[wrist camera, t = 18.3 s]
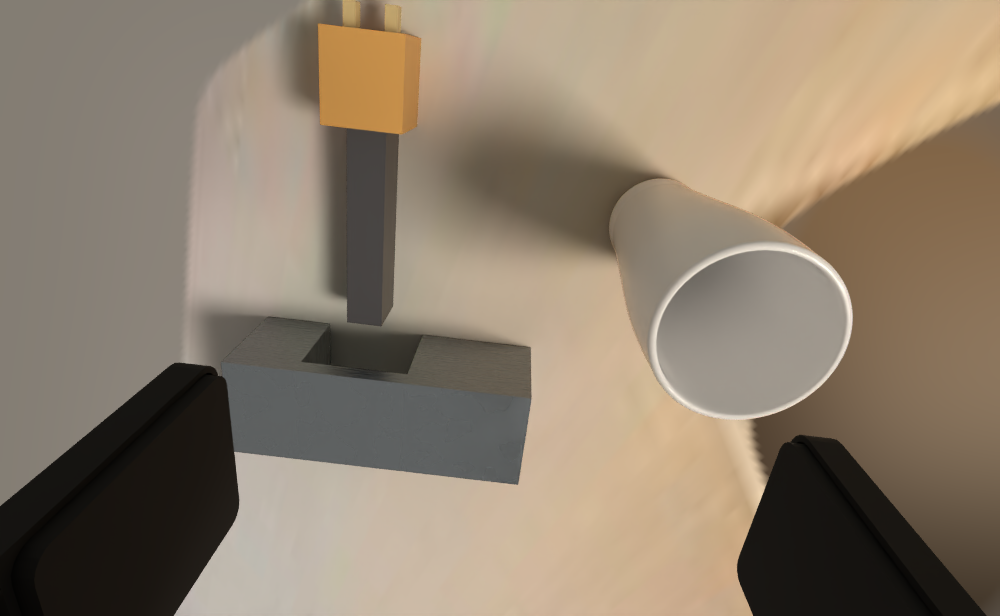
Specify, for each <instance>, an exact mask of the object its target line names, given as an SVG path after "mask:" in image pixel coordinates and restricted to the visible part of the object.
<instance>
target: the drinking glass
mask: <svg viewBox="0 0 1000 616" xmlns="http://www.w3.org/2000/svg"><path fill="white" fill-rule="evenodd" d="M609 235H610V240H611V243H612V246H613V248H614V250H615V254H616V258H617V263H618V268H619V273H620V278H621V283H622V288H623V294H624V299H625V303H626V308H627V312H628V315H629V319H630V322H631V325H632V328H633V331H634V333H635V336H636V338H637V341H638V343H639V345H640V348H641V350H642V352H643V354H644V356H645V358H646V360H647V362H648V363H649V365H650V367H651V369H652V371H653V373H654V375H655V377H656V379H657V381H658V382H659V384H660V385H661V386H662V388H663V389H664V390H665V391H666V392H667V393H668V394H669V395H670V396H671V397H672V398H673V399H674V400H675V401H677V402H678V403H680V404H681V405H682V406H684V407H686V408H688V409H689V410H692V411H694V412H696V413H699V414H702V415H705V416H708V417H712V418H718V419H727V420H744V419H753V418H758V417H763V416H767V415H771V414H773V413H777V412H779V411H782V410H784V409H786V408H789V407H790V406H793V405H795V404H796V403H798V402H800V401H801V400H803V399H805V398H806V397H807V396H809V395H810V394H811V393H813V392H814V391H815V390H816V389H817V388H819V387H820V386H821V385H822V384H823V383H824V382H825V381H826V380H827V379H828V377H829V376H830V375H831V374H832V373H833V371H834V370H835V368H836V367H837V365H838V364H839V362H840V361H841V359H842V357H843V355H844V353H845V350H846V348H847V346H848V342H849V340H850V335H851V331H852V323H853V321H852V320H853V312H852V304H851V301H850V296H849V293H848V291H847V288H846V286H845V284H844V282H843V280H842V279H841V277H840V276H839V274H838V273H837V272H836V270H835V269H834V268H833V267H832V266H831V265H830V264H829V263H828V262H826V261H825V260H824V259H823V258H821V257H820V256H819V255H817V254H816V253H815V252H814V251H812V250H811V249H810V248H809V247H807V246H806V245H805V244H803V243H802V242H801V241H799V240H798V239H796V238H795V237H793V236H792V235H790V234H789V233H787V232H786V231H784V230H783V229H781V228H780V227H778V226H776V225H775V224H773V223H771V222H769V221H767V220H765V219H763V218H761V217H759V216H757V215H755V214H753V213H750V212H748V211H746V210H743V209H740V208H738V207H735V206H733V205H730V204H727V203H725V202H722V201H719V200H717V199H714V198H712V197H709V196H707V195H704V194H702V193H699V192H697V191H694V190H692V189H691V188H689V187H688V186H686V185H685V184H683V183H681V182H678V181H675V180H672V179H664V178H657V179H650V180H646V181H643V182H641V183H639V184H637V185H635V186H633V187H632V188H630V189H629V190H628V191H626V192H625V193H624V194H623V195H622V196H621V198H620V199H619V200H618V202H617V203H616V205H615V207H614V209H613V211H612V214H611V217H610V222H609Z"/></svg>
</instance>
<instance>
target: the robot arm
mask: <svg viewBox="0 0 1000 616" xmlns="http://www.w3.org/2000/svg"><path fill="white" fill-rule="evenodd" d="M238 509H239V494H238V484H237V474H236V465H235V455H234V446H233V436H232V427H231V417H230V408H229V398H228V388H227V382H226V380H225V378H224V377H222V376H218V374H217V372H216V370H215V368H213V367H211V366H203V365H195V364H186V363H174V364H172V365H171V366H169V367H168V368H167V369H165V370H164V371H163V372H162V373H161V374H159V375H158V376H157V377H156V378H155V379H153V380H152V381H151V382H150V383H149V384H147V385H146V386H145V387H144V388H143V389H141V390H140V391H139V392H138V393H137V394H135V395H134V396H133V397H132V398H131V399H129V400H128V401H127V402H126V403H124V404H123V405H122V406H121V407H120V408H118V410H116V411H115V412H114V413H112V414H111V415H110V416H109V417H107V418H106V419H105V420H104V421H103V422H101V423H100V424H99V425H98V426H97V427H96V428H94V429H93V430H92V431H91V432H89V433H88V434H87V435H86V436H85V437H83V438H82V439H81V440H80V441H79V442H77V443H76V444H75V445H74V446H73V447H71V448H70V449H69V450H68V451H66V452H65V453H64V454H63V455H62V456H60V457H59V458H58V459H57V460H56V461H54V462H53V463H52V464H51V465H49V466H48V467H47V468H46V469H45V470H43V471H42V472H41V473H40V474H39V475H37V476H36V477H35V478H34V479H33V480H31V481H30V482H29V483H28V484H27V485H25V486H24V487H23V488H22V489H20V490H19V491H18V492H17V493H16V494H15V495H13V496H12V497H11V498H10V499H8V500H7V501H6V502H5V503H4V504H2V505H1V506H0V616H174V614H175V613H176V611H177V610H178V608H179V607H180V605H181V603H182V602H183V600H184V599H185V597H186V596H187V594H188V593H189V591H190V590H191V588H192V586H193V585H194V583H195V582H196V580H197V579H198V577H199V576H200V574H201V573H202V571H203V569H204V568H205V566H206V565H207V563H208V562H209V560H210V559H211V557H212V556H213V554H214V553H215V551H216V549H217V548H218V546H219V545H220V543H221V542H222V540H223V539H224V537H225V536H226V534H227V532H228V531H229V529H230V528H231V526H232V525H233V523H234V521H235V519H236V516H237V513H238ZM737 573H738V579H739V582H740V585H741V587H742V590H743V592H744V594H745V597H746V599H747V602H748V604H749V607H750V609H751V611H752V614H753V616H986V615H985V613H984V612H983V611H982V610H981V609H980V607H979V606H978V605H977V604H976V603H975V601H974V600H973V599H972V598H971V597H970V596H969V594H968V593H967V592H966V591H965V590H964V588H963V587H962V586H961V585H960V584H959V583H958V581H957V580H956V579H955V578H954V577H953V575H952V574H951V573H950V572H949V571H948V570H947V568H946V567H945V566H944V565H943V564H942V562H941V561H940V560H939V559H938V558H937V557H936V555H935V554H934V553H933V552H932V551H931V549H930V548H929V547H928V546H927V545H926V543H925V542H924V541H923V540H922V539H921V537H920V536H919V535H918V534H917V533H916V532H915V531H914V529H913V528H912V527H911V526H910V524H909V523H908V522H907V521H906V520H905V518H904V517H903V516H902V515H901V514H900V513H899V511H898V510H897V509H896V508H895V507H894V505H893V504H892V503H891V502H890V501H889V500H888V498H887V497H886V496H885V495H884V494H883V492H882V491H881V490H880V489H879V488H878V486H877V485H876V484H875V483H874V482H873V481H872V480H871V478H870V477H869V476H868V475H867V473H866V472H865V471H864V470H863V469H862V468H861V466H860V465H859V464H858V463H857V462H856V460H855V459H854V458H853V457H852V456H851V455H850V453H849V452H848V451H847V450H846V449H845V447H844V446H843V445H842V444H841V443H840V442H839V441H837V440H835V439H831V438H822V437H814V436H805V435H799V436H796V437H795V438H794V439H793V440H792V441H791V443H790V442H787V443H784V444H783V445H782V447H781V449H780V451H779V453H778V456H777V459H776V461H775V464H774V466H773V469H772V472H771V474H770V477H769V480H768V482H767V485H766V487H765V490H764V493H763V495H762V498H761V501H760V503H759V506H758V508H757V511H756V514H755V516H754V519H753V521H752V524H751V527H750V529H749V532H748V535H747V537H746V540H745V542H744V545H743V548H742V550H741V553H740V556H739V559H738V564H737Z"/></svg>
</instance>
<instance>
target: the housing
mask: <svg viewBox="0 0 1000 616" xmlns="http://www.w3.org/2000/svg"><path fill="white" fill-rule="evenodd" d="M221 367H222V377H224V378H225V380H226V382H227V388H228V398H229V408H230V417H231V427H232V436H233V446H234V452H242V453H251V454H259V455H268V456H276V457H285V458H293V459H302V460H311V461H319V462H328V463H336V464H345V465H353V466H362V467H371V468H379V469H388V470H396V471H405V472H413V473H422V474H431V475H439V476H448V477H456V478H465V479H473V480H482V481H491V482H499V483H508V484H516V485H518V482H519V475H520V469H521V462H522V456H523V450H524V443H525V437H526V430H527V424H528V417H529V411H530V405H531V348H530V347H522V346H513V345H505V344H496V343H488V342H479V341H471V340H462V339H454V338H445V337H437V336H428V335H422V338H421V341H420V343H419V346H418V348H417V351H416V353H415V356H414V359H413V361H412V364H411V366H410V369H409V371H408V374H401V373H392V372H384V371H375V370H367V369H358V368H350V367H341V366H332V365H331V349H330V324H326V323H318V322H309V321H301V320H292V319H284V318H275V317H267V318H266V319H265V320H264V321H263V322H262V323H261V324H260V325H259V326H258V327H257V328H256V329H255V330H254V331H253V332H252V333H251V334H250V335H249V336H248V337H247V338H246V339H245V340H244V341H242V342H241V343H240V344H239V345H238V346H237V347H236V348H235V349H234V350H233V351H232V352H231V353H230V354H229V355H228V356H227V357H226V358H225V359H224V360H223V361H222V362H221Z"/></svg>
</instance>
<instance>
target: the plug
mask: <svg viewBox="0 0 1000 616" xmlns="http://www.w3.org/2000/svg"><path fill="white" fill-rule="evenodd" d="M318 48H319V95H320V125H327V126H335V127H344V128H347V322H350V323H358V324H367V325H375V326H382V324H383V323H384V321H385V319H386V317H387V316H388V314H389V312H390V310H391V309H392V307H393V290H394V260H395V230H396V201H397V171H398V141H399V134H404V133H406V132H408V131H409V130H411V129H413V128H415V127H417V117H418V95H419V74H420V52H421V38H418V37H414V36H411V35H407V34H401V7H400V6H397V5H389V4H385V29H384V31H376V30H368V29H360V2H358V1H355V0H343V26H334V25H326V24H318Z"/></svg>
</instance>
